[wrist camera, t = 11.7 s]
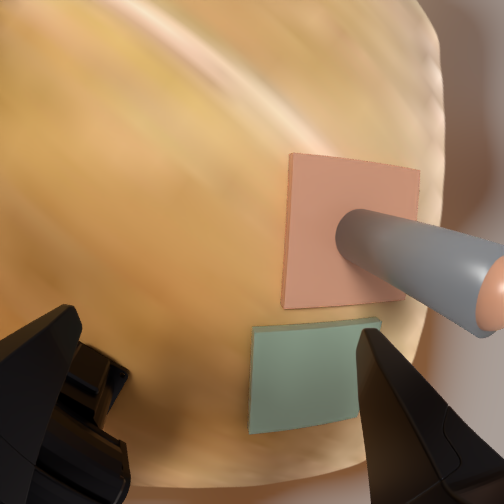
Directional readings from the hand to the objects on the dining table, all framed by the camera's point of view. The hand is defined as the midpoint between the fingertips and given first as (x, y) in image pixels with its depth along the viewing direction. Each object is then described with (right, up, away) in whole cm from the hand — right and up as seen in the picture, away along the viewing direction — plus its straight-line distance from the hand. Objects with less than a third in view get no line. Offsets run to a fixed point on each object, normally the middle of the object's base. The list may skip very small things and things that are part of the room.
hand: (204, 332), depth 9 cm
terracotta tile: (+9, +4, +14) cm, 17 cm away
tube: (+9, +4, +13) cm, 17 cm away
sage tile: (+7, -9, +17) cm, 20 cm away
